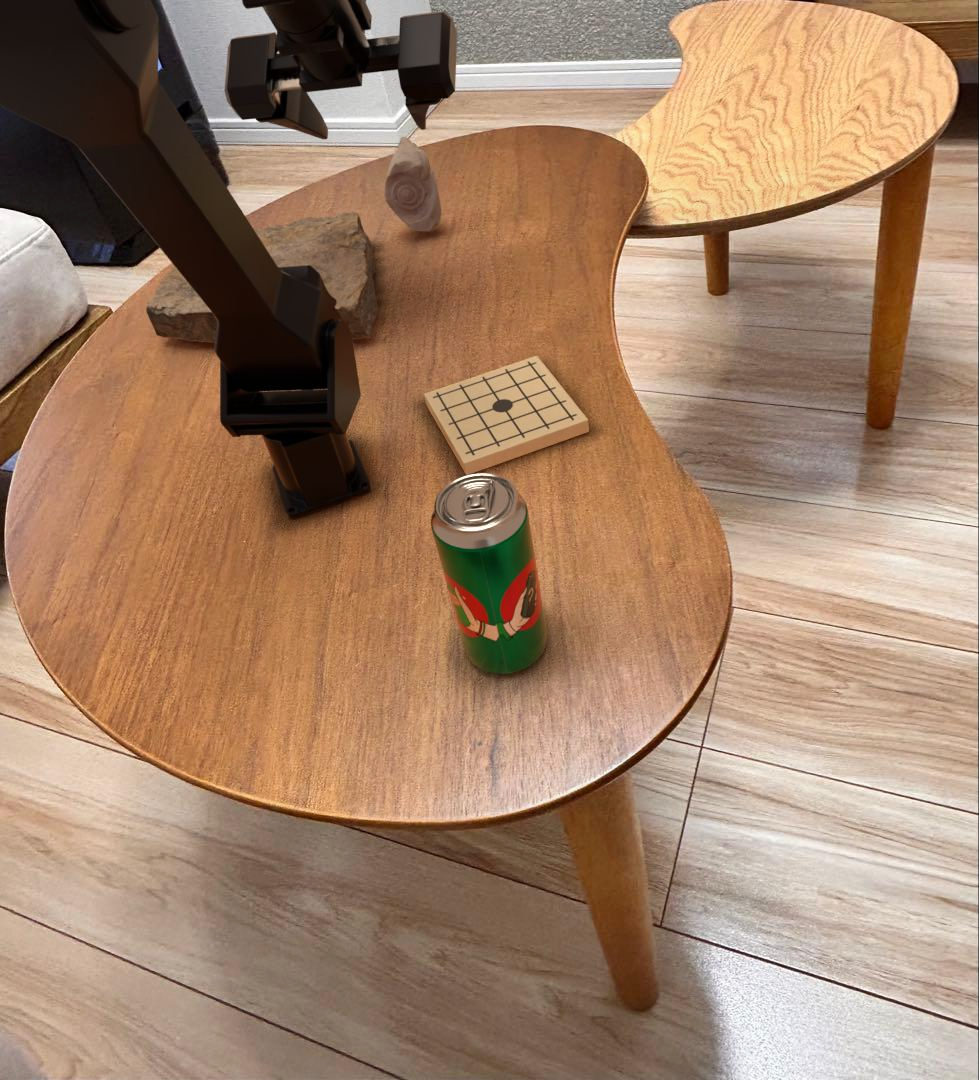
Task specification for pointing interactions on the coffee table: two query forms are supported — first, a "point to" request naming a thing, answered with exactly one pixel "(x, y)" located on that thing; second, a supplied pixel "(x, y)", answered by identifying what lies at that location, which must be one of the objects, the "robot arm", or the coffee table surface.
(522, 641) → the soda can
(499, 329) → the coffee table surface
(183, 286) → the stone
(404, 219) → the fossil
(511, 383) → the board
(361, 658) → the coffee table surface
